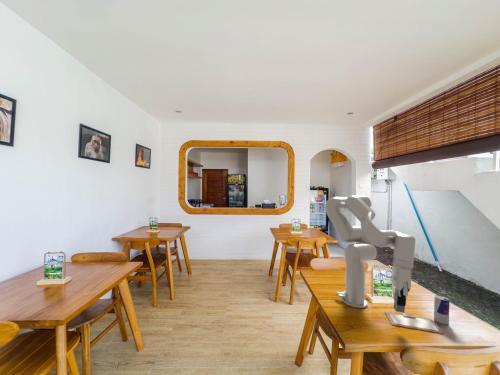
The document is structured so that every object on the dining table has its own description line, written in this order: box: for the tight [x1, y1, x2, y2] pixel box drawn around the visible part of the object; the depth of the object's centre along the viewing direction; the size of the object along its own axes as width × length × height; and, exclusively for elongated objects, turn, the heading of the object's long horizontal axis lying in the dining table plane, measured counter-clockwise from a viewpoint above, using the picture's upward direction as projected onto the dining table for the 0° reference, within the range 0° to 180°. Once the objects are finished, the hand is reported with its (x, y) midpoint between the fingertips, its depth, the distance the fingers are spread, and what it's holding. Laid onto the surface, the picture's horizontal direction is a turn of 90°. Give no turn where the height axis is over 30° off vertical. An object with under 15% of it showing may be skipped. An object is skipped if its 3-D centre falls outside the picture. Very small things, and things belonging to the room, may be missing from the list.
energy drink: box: [433, 294, 450, 328], centre depth 108 cm, size 5×5×12 cm
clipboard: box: [384, 311, 445, 335], centre depth 108 cm, size 20×11×1 cm, turn 74°
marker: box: [393, 288, 406, 314], centre depth 103 cm, size 4×3×12 cm
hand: (399, 302), depth 103 cm, fingers closed on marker, 3 cm apart
